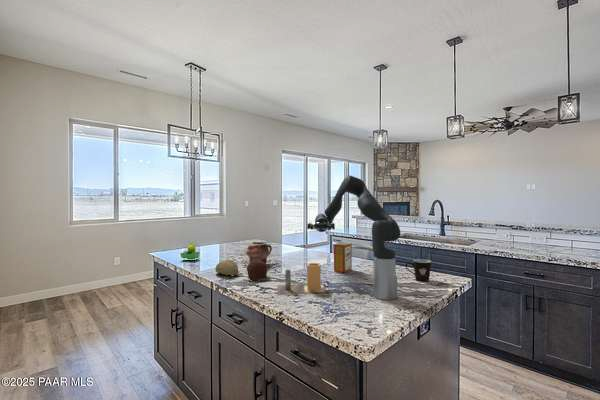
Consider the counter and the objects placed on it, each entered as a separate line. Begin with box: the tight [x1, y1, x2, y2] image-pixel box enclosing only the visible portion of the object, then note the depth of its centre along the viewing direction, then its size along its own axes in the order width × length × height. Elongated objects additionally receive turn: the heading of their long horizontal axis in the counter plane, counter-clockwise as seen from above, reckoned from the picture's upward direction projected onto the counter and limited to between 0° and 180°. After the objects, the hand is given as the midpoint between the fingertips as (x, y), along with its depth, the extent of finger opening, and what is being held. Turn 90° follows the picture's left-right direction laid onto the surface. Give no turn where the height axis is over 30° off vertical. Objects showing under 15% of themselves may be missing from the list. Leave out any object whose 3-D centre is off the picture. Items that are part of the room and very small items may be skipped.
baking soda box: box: [333, 242, 353, 274], centre depth 177 cm, size 10×6×16 cm
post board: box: [276, 268, 328, 296], centre depth 139 cm, size 22×14×10 cm, turn 92°
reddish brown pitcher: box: [245, 241, 273, 264], centre depth 195 cm, size 20×12×14 cm, turn 141°
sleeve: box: [306, 262, 322, 291], centre depth 140 cm, size 6×6×11 cm
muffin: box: [246, 260, 269, 281], centre depth 160 cm, size 12×11×10 cm
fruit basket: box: [179, 242, 201, 259], centre depth 210 cm, size 11×9×11 cm
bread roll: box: [214, 259, 239, 276], centre depth 171 cm, size 10×15×8 cm, turn 59°
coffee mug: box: [405, 258, 432, 283], centre depth 158 cm, size 12×9×10 cm
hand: (320, 227), depth 153 cm, fingers open, 8 cm apart
